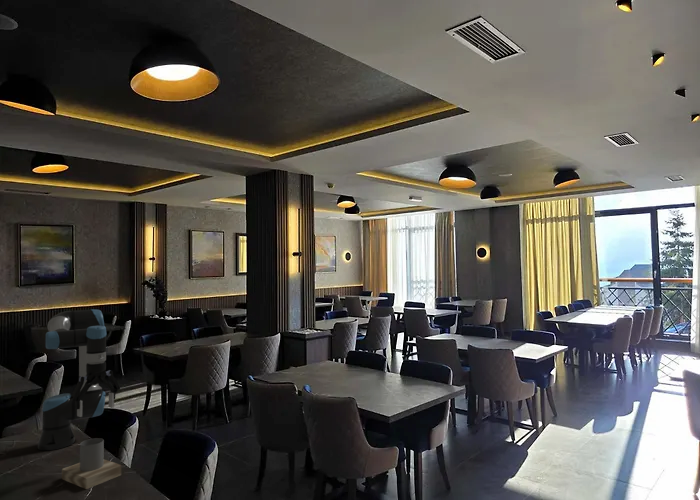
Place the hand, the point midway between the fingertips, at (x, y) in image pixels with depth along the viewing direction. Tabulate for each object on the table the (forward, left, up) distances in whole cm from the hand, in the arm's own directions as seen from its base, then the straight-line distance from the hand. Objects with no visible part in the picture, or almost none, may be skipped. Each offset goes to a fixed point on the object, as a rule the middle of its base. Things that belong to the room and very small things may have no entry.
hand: (95, 411), depth 198 cm
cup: (+9, -7, -19) cm, 22 cm away
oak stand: (+9, -7, -23) cm, 26 cm away
